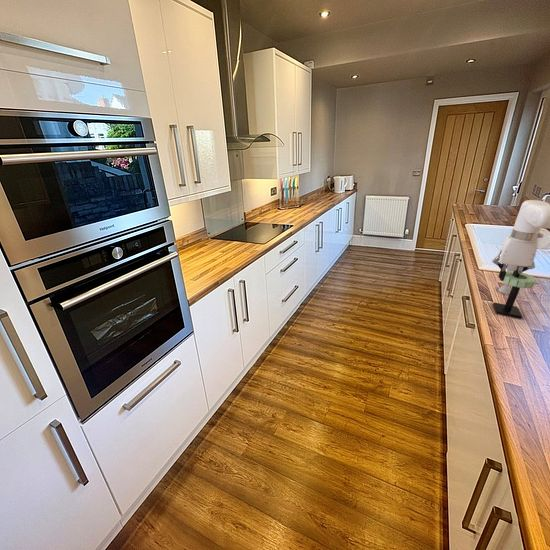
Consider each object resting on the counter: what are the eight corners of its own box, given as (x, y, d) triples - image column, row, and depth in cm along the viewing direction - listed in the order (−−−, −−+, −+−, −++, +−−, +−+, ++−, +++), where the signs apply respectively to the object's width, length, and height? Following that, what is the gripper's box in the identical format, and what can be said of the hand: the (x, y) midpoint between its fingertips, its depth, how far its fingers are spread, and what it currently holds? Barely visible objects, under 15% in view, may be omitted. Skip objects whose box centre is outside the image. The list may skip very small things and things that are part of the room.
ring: (529, 279, 114) (531, 273, 113) (536, 290, 106) (539, 284, 105) (499, 275, 118) (501, 269, 117) (504, 285, 110) (506, 279, 109)
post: (516, 308, 119) (527, 280, 114) (521, 318, 113) (534, 289, 107) (493, 304, 122) (503, 276, 117) (496, 313, 116) (507, 285, 110)
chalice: (495, 292, 132) (508, 255, 124) (495, 286, 137) (508, 250, 129) (515, 296, 128) (530, 258, 120) (514, 290, 133) (529, 254, 125)
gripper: (549, 235, 105) (530, 280, 113) (495, 229, 112) (480, 273, 119) (556, 241, 99) (535, 288, 107) (499, 235, 105) (483, 280, 113)
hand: (506, 280), depth 113 cm, fingers closed on ring, 3 cm apart
